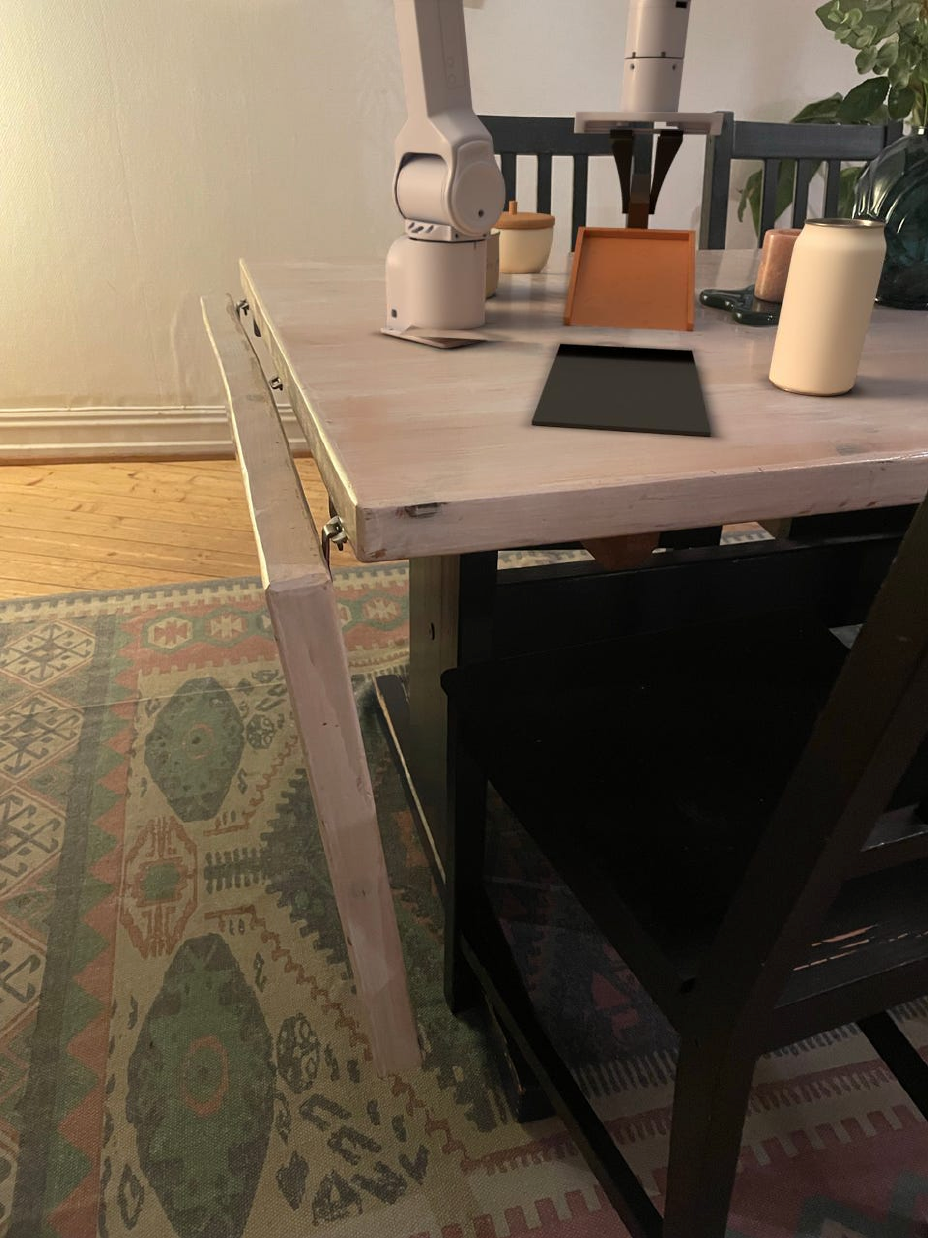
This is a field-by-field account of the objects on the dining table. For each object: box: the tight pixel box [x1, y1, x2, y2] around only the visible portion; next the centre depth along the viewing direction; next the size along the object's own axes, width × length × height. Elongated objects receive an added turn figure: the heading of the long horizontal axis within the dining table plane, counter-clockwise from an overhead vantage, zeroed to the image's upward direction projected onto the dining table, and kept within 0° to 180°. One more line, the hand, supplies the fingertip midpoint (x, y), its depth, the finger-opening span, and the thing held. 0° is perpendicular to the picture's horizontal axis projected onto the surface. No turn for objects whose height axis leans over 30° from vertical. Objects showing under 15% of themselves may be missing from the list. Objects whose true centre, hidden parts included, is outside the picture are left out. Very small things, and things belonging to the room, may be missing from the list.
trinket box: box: [493, 200, 556, 274], centre depth 111 cm, size 11×11×9 cm
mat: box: [531, 343, 712, 437], centre depth 69 cm, size 12×26×1 cm, turn 170°
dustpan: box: [563, 173, 696, 332], centre depth 86 cm, size 12×22×4 cm, turn 170°
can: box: [768, 217, 887, 397], centre depth 66 cm, size 6×6×12 cm
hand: (638, 213), depth 91 cm, fingers closed on dustpan, 2 cm apart
